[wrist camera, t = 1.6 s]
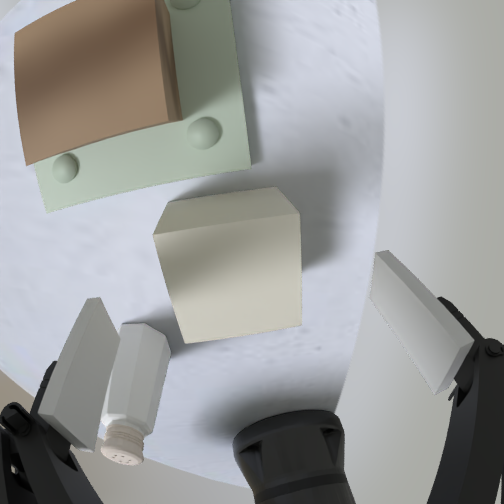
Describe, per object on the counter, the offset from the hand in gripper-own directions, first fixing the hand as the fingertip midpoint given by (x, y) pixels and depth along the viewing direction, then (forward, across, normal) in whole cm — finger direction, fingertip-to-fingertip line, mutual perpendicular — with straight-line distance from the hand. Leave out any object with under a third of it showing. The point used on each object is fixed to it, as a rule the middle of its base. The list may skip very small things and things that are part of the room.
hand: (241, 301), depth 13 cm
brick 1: (+7, +5, -11) cm, 14 cm away
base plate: (+8, +5, -11) cm, 15 cm away
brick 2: (+8, 0, +1) cm, 8 cm away
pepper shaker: (+7, +9, +9) cm, 15 cm away
